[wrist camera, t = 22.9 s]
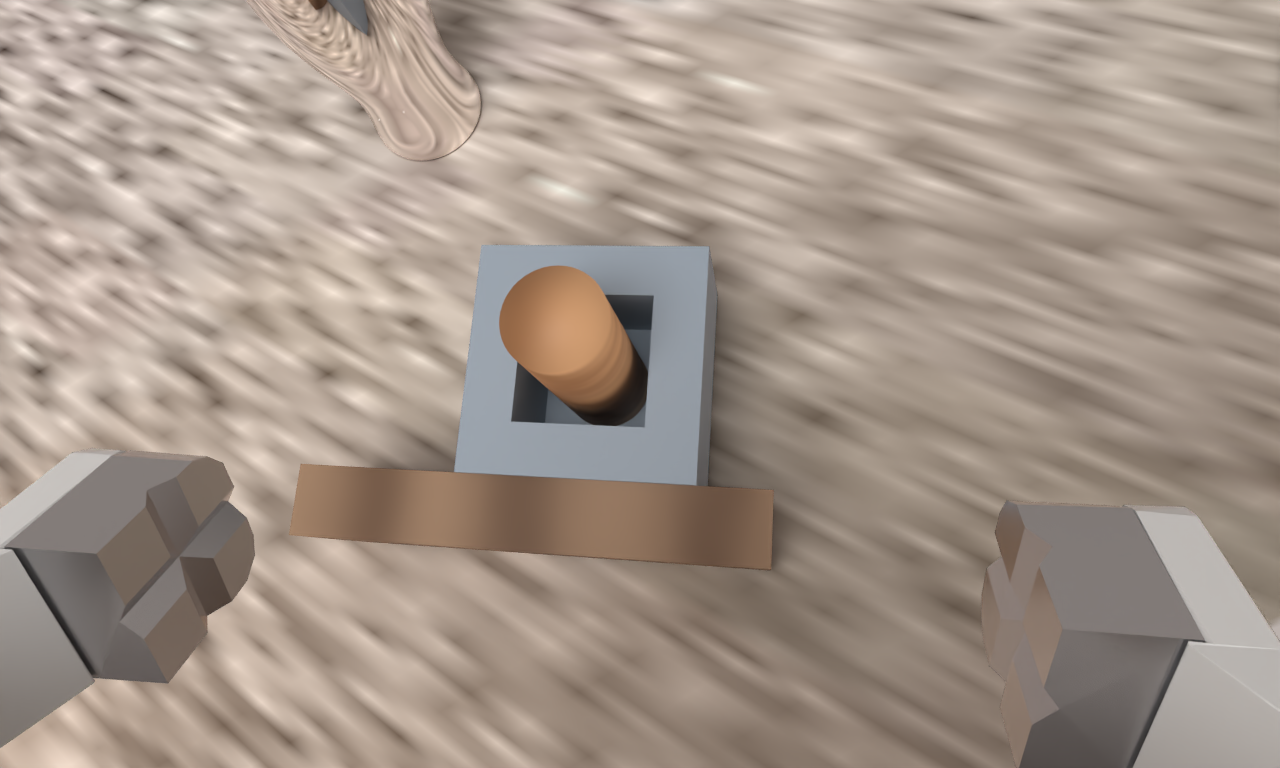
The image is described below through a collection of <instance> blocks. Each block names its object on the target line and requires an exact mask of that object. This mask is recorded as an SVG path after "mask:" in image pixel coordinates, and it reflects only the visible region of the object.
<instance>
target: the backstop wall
mask: <svg viewBox="0 0 1280 768" xmlns="http://www.w3.org/2000/svg"><path fill="white" fill-rule="evenodd" d="M773 497H774V490H766V489H748V488H730V487H711V486H693V485H675V484H657V483H638V482H620V481H602V480H584V479H566V478H547V477H529V476H511V475H493V474H475V473H456V472H438V471H420V470H402V469H383V468H365V467H347V466H329V465H311V464H301V465H300V471H299V477H298V483H297V490H296V496H295V502H294V508H293V514H292V520H291V526H290V532H289V535H295V536H306V537H318V538H329V539H341V540H352V541H365V542H379V543H393V544H407V545H421V546H435V547H449V548H463V549H477V550H491V551H506V552H520V553H534V554H548V555H562V556H576V557H590V558H604V559H618V560H632V561H646V562H660V563H675V564H689V565H703V566H717V567H731V568H745V569H759V570H771V557H772V527H773Z"/></svg>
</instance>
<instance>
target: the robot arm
mask: <svg viewBox="0 0 1280 768" xmlns="http://www.w3.org/2000/svg"><path fill="white" fill-rule="evenodd" d="M233 488H234V485H233V483H232V481H231V479H230V477H229V475H228V473H227V470H226V468H225V466H224V464H223V463H222V462H219V461H217V460H215V459H212V458H210V457H207V456H194V455H182V454H169V453H156V452H144V451H131V450H130V451H122V450H110V449H96V448H90V449H86V450H81V451H77V452H72V453H71V454H70V455H68V456H67V457H66V458H65V459H63V460H62V461H61V462H59V463H58V464H57V465H56V466H54V467H53V468H52V469H51V470H49V471H48V472H47V473H45V474H44V475H43V476H42V477H40V478H39V479H38V480H37V481H35V482H34V483H33V484H32V485H30V486H29V487H28V488H26V489H25V490H24V491H23V492H21V493H20V494H19V495H18V496H16V497H15V498H14V499H12V500H11V501H10V502H9V503H7V504H6V505H5V506H4V507H2V508H1V509H0V748H1V747H3V746H4V745H6V744H7V743H8V742H10V741H11V740H13V739H14V738H16V737H17V736H18V735H20V734H21V733H23V732H24V731H26V730H27V729H29V728H30V727H31V726H33V725H34V724H36V723H37V722H39V721H40V720H41V719H43V718H44V717H46V716H47V715H49V714H50V713H51V712H53V711H54V710H56V709H57V708H59V707H60V706H61V705H63V704H64V703H66V702H67V701H69V700H70V699H72V698H73V697H74V696H76V695H77V694H79V693H80V692H82V691H83V690H84V689H86V688H87V687H89V686H90V685H92V684H93V683H94V682H95V680H94V679H93V678H101V679H115V680H128V681H141V682H155V683H169V682H170V680H171V679H172V678H173V677H174V675H175V674H176V673H177V671H178V670H179V669H180V668H181V666H182V665H183V664H184V662H185V661H186V660H187V659H188V657H189V656H190V655H191V653H192V652H193V651H194V650H195V648H196V647H197V646H198V644H199V643H200V642H201V641H202V639H203V638H204V637H205V635H206V634H207V633H208V632H207V616H208V615H209V614H211V613H213V612H214V611H216V610H218V609H219V608H221V607H223V606H224V605H226V604H228V603H230V602H231V601H233V599H234V598H235V596H236V595H237V594H238V592H239V591H240V590H241V588H242V587H243V585H244V584H245V583H246V581H247V579H248V576H249V573H250V570H251V566H252V563H253V560H254V556H255V550H254V535H253V533H252V530H251V527H250V525H249V522H248V520H247V518H246V517H245V516H244V515H243V514H242V513H241V512H239V511H238V510H237V509H236V508H235V507H234V506H233V505H232V504H230V503H229V502H228V500H229V498H230V496H231V493H232V491H233ZM995 535H996V538H997V542H998V545H999V548H1000V552H1001V555H1002V557H1000V558H999V559H998V560H996V561H995V562H994V563H992V564H991V565H990V566H989V567H987V569H986V574H985V580H984V585H983V590H982V603H981V625H982V633H983V641H984V646H985V650H986V655H987V659H988V663H989V666H990V667H991V668H992V669H993V670H994V671H995V672H996V673H997V674H998V675H999V676H1000V677H1001V678H1002V679H1003V680H1004V681H1006V685H1005V689H1004V693H1003V696H1002V700H1001V704H1000V710H1001V714H1002V718H1003V721H1004V725H1005V729H1006V733H1007V737H1008V740H1009V744H1010V748H1011V752H1012V755H1013V759H1014V763H1015V767H1016V768H1280V640H1279V639H1278V638H1277V636H1276V634H1275V633H1274V631H1273V630H1272V628H1271V627H1270V625H1269V624H1268V622H1267V621H1266V619H1265V618H1264V616H1263V615H1262V613H1261V612H1260V610H1259V608H1258V607H1257V605H1256V604H1255V602H1254V601H1253V599H1252V598H1251V596H1250V595H1249V593H1248V592H1247V590H1246V589H1245V587H1244V586H1243V584H1242V583H1241V581H1240V580H1239V578H1238V577H1237V575H1236V574H1235V572H1234V570H1233V569H1232V567H1231V566H1230V564H1229V563H1228V561H1227V560H1226V558H1225V557H1224V555H1223V554H1222V552H1221V551H1220V549H1219V548H1218V546H1217V545H1216V543H1215V542H1214V540H1213V539H1212V537H1211V535H1210V534H1209V532H1208V531H1207V529H1206V528H1205V526H1204V525H1203V523H1202V522H1201V520H1200V519H1199V517H1198V516H1197V515H1196V514H1195V513H1194V512H1192V511H1191V510H1189V509H1187V508H1186V507H1178V506H1147V505H1123V506H1122V507H1121V506H1108V505H1088V504H1067V503H1047V502H1027V501H1006V502H1005V504H1004V506H1003V508H1002V510H1001V511H1000V514H999V518H998V522H997V526H996V530H995Z"/></svg>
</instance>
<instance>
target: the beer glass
mask: <svg viewBox="0 0 1280 768" xmlns="http://www.w3.org/2000/svg"><path fill="white" fill-rule="evenodd" d="M245 1H246V2H247V3H248V5H249V6H250V7H251V8H252V9H253V10H254V12H255V13H256V14H257V15H258V16H259V18H260V19H261V20H262V21H263V22H264V23H265V24H266V25H267V27H268V28H269V29H270V30H271V31H272V32H273V33H274V34H275V35H276V36H277V37H278V38H279V39H280V40H281V41H282V42H283V43H284V44H285V45H286V46H287V47H288V48H289V49H291V50H292V51H293V52H294V53H295V54H297V55H298V56H299V57H300V58H301V59H302V60H304V61H305V62H306V63H307V64H308V65H310V66H311V67H312V68H314V69H315V70H316V71H318V72H319V73H320V74H322V75H323V76H324V77H326V78H327V79H328V80H330V81H331V82H333V83H334V84H335V85H337V86H338V87H339V88H341V89H342V90H344V91H345V92H346V93H347V94H349V95H350V96H351V97H353V98H354V99H355V100H356V101H357V102H358V103H359V104H360V105H361V106H362V107H363V108H364V109H365V111H366V112H367V114H368V115H369V117H370V119H371V121H372V123H373V125H374V127H375V129H376V131H377V133H378V135H379V137H380V138H381V140H382V141H383V142H384V144H385V145H386V146H387V147H388V148H389V149H390V150H391V151H393V152H394V153H396V154H397V155H399V156H401V157H403V158H406V159H410V160H417V161H426V160H433V159H437V158H440V157H443V156H445V155H447V154H449V153H451V152H452V151H454V150H455V149H457V148H458V147H459V146H461V145H462V144H463V143H464V142H465V141H466V140H467V139H468V138H469V136H470V135H471V134H472V132H473V130H474V129H475V127H476V125H477V122H478V120H479V116H480V111H481V97H480V93H479V89H478V87H477V84H476V82H475V81H474V79H473V78H472V76H471V75H470V74H469V73H468V72H467V70H466V69H465V68H464V67H463V66H462V65H461V64H460V63H459V62H458V61H457V60H456V59H455V58H454V57H453V56H452V55H451V54H450V53H449V52H448V50H447V49H446V47H445V45H444V43H443V41H442V39H441V37H440V34H439V31H438V28H437V26H436V22H435V19H434V16H433V13H432V10H431V7H430V4H429V1H428V0H245Z"/></svg>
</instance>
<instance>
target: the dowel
mask: <svg viewBox="0 0 1280 768" xmlns="http://www.w3.org/2000/svg"><path fill="white" fill-rule="evenodd" d="M499 329H500V335H501V339H502V341H503V344H504V346H505V348H506V349H507V351H508V352H509V354H510V355H511V356H512V357H513V358H514V359H515V360H516V361H517V362H518V363H519V364H521V365H522V366H523V367H524V368H525V369H526V370H527V371H528V372H530V373H531V374H532V375H533V376H534V377H535V378H536V379H537V380H539V381H540V382H541V383H542V384H543V385H544V386H545V387H546V388H548V389H549V390H550V391H551V392H552V393H553V394H554V395H555V396H557V397H558V398H559V399H560V400H561V401H562V402H563V403H564V404H566V405H567V406H568V407H569V408H570V409H571V410H572V411H573V412H575V413H576V414H577V415H578V416H579V417H580V418H581V419H583V420H584V421H586V422H588V423H589V424H592V425H601V426H618V425H621V424H623V423H626V422H627V421H629V420H631V419H632V418H633V417H635V416H636V415H637V414H638V413H639V412H640V410H641V409H642V408H643V406H644V404H645V402H646V400H647V386H648V371H647V369H646V367H645V365H644V363H643V361H642V359H641V358H640V356H639V354H638V352H637V351H636V349H635V347H634V345H633V344H632V342H631V340H630V338H629V337H628V335H627V333H626V331H625V330H624V328H623V326H622V324H621V323H620V321H619V319H618V317H617V316H616V314H615V312H614V310H613V309H612V307H611V305H610V303H609V302H608V300H607V298H606V296H605V295H604V293H603V291H602V289H601V288H600V286H599V285H598V284H597V283H596V281H595V280H594V279H593V278H591V277H590V276H589V275H588V274H586V273H585V272H583V271H581V270H579V269H576V268H573V267H568V266H559V265H557V266H548V267H543V268H540V269H537V270H535V271H533V272H531V273H529V274H527V275H526V276H524V277H523V278H522V279H520V280H519V281H518V282H517V283H516V284H515V285H514V286H513V287H512V289H511V290H510V291H509V293H508V294H507V296H506V298H505V300H504V302H503V304H502V308H501V311H500V317H499Z"/></svg>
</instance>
